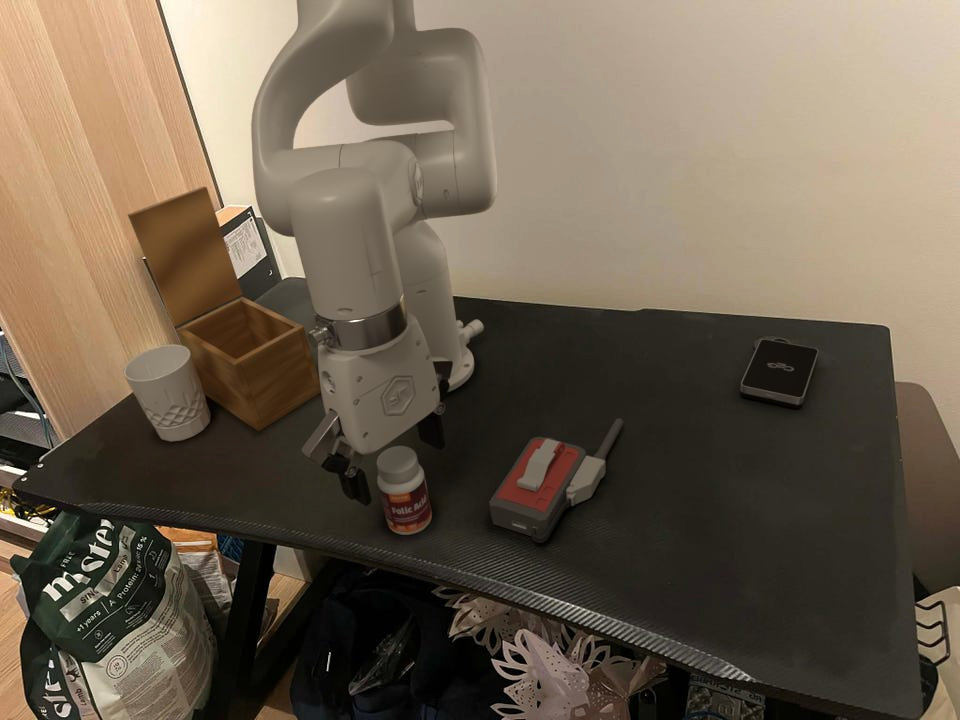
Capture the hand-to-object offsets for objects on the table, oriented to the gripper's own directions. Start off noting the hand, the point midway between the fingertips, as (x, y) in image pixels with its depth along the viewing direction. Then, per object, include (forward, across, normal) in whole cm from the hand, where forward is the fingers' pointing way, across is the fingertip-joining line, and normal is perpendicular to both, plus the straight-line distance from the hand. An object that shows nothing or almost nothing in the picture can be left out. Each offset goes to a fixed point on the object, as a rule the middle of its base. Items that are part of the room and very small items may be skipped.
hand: (397, 470), depth 70 cm
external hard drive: (+7, +44, -20) cm, 48 cm away
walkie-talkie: (+7, +14, -8) cm, 18 cm away
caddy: (+7, +4, +34) cm, 35 cm away
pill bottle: (+8, 0, 0) cm, 8 cm away
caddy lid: (-12, +4, +41) cm, 43 cm away
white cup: (+7, -6, +37) cm, 38 cm away
